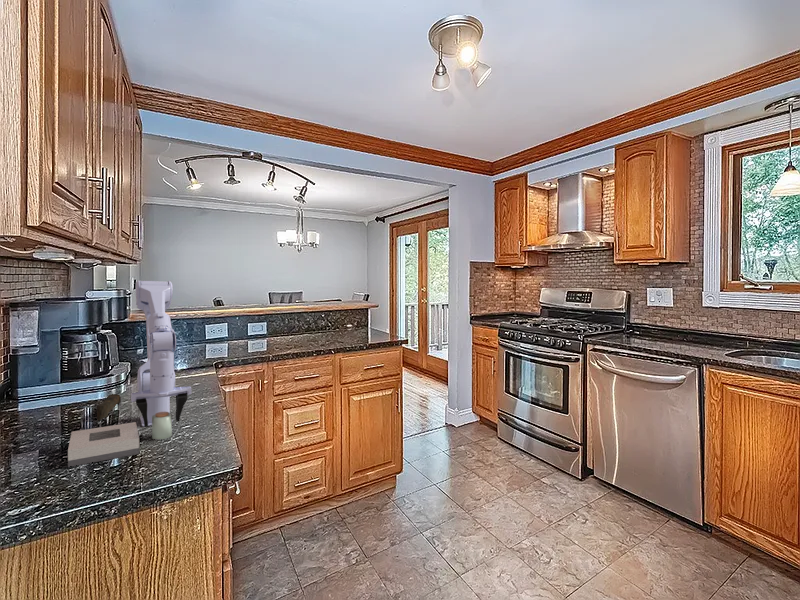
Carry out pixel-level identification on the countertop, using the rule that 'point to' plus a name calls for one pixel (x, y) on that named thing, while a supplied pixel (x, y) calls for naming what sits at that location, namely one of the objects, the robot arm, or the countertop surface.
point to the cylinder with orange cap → (161, 425)
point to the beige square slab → (103, 444)
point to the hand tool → (107, 406)
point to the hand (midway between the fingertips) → (162, 422)
